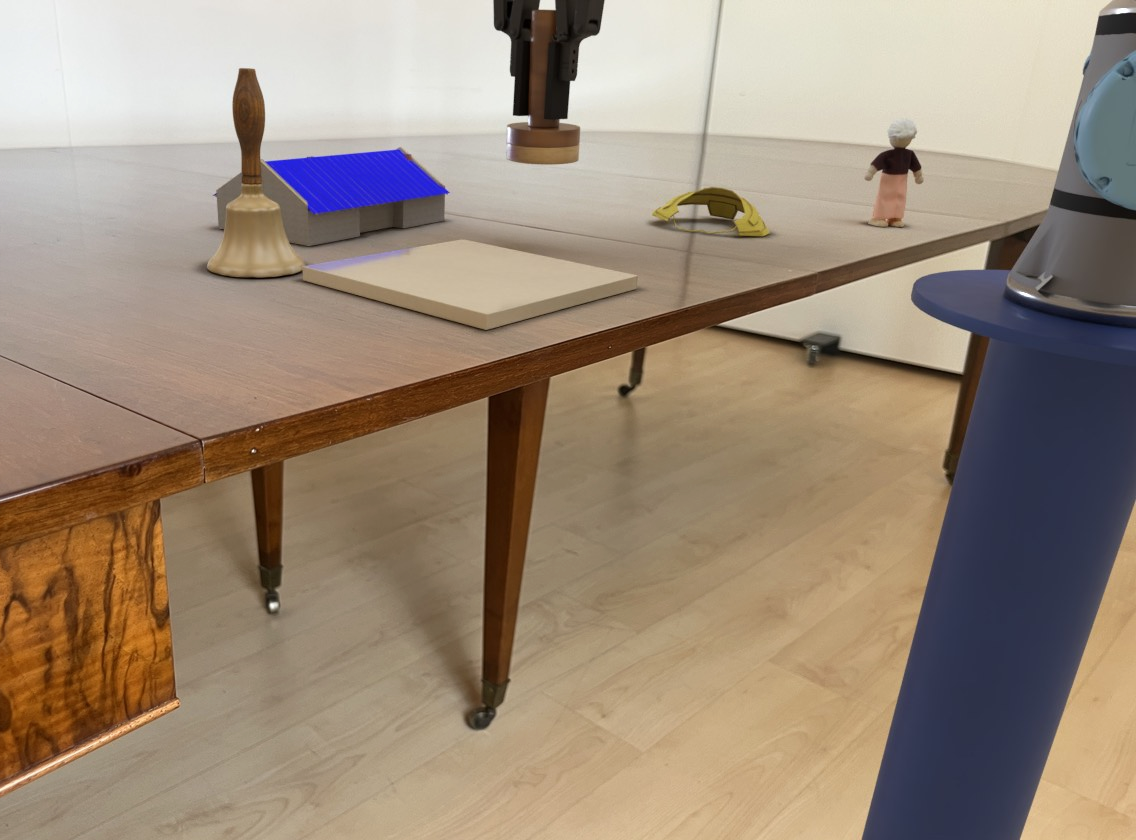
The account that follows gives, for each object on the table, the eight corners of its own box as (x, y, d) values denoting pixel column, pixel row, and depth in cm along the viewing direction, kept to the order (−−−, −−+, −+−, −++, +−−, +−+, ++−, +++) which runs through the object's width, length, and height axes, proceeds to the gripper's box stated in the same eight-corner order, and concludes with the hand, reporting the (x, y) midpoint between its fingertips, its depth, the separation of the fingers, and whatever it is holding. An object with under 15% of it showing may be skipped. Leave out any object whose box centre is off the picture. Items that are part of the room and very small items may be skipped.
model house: (355, 205, 119) (354, 141, 116) (449, 221, 112) (451, 153, 109) (213, 227, 102) (208, 152, 99) (314, 247, 95) (312, 167, 92)
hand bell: (196, 261, 87) (181, 64, 81) (287, 255, 91) (280, 67, 85) (221, 281, 81) (207, 69, 74) (319, 275, 85) (314, 72, 78)
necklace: (789, 235, 114) (795, 198, 112) (698, 239, 109) (703, 200, 107) (723, 217, 124) (728, 182, 123) (637, 219, 120) (641, 183, 118)
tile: (636, 289, 85) (637, 275, 85) (486, 330, 71) (486, 314, 71) (462, 251, 97) (462, 239, 96) (302, 280, 82) (302, 266, 82)
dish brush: (591, 158, 97) (600, 10, 91) (554, 167, 91) (560, 10, 86) (531, 151, 100) (536, 8, 94) (491, 159, 95) (494, 8, 89)
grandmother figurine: (896, 221, 128) (918, 117, 123) (917, 227, 124) (940, 119, 119) (847, 222, 125) (867, 115, 120) (868, 228, 122) (889, 118, 117)
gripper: (458, -178, 86) (450, 110, 96) (613, -195, 77) (586, 126, 86) (512, -163, 91) (499, 109, 101) (663, -177, 82) (633, 123, 92)
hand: (540, 116), depth 94 cm, fingers closed on dish brush, 3 cm apart
